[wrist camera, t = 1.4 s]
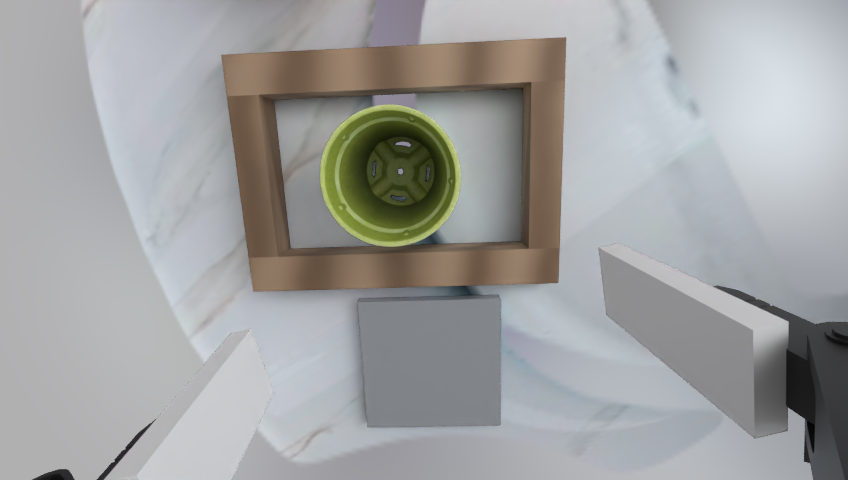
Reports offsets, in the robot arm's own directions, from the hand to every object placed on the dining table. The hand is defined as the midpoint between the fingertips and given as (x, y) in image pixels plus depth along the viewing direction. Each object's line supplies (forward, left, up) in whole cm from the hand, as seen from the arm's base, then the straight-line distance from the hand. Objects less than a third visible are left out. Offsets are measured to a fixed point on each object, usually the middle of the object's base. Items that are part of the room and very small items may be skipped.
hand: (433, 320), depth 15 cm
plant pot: (+3, -5, -22) cm, 22 cm away
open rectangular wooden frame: (+3, -5, -22) cm, 22 cm away
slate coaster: (+1, +13, -22) cm, 25 cm away
